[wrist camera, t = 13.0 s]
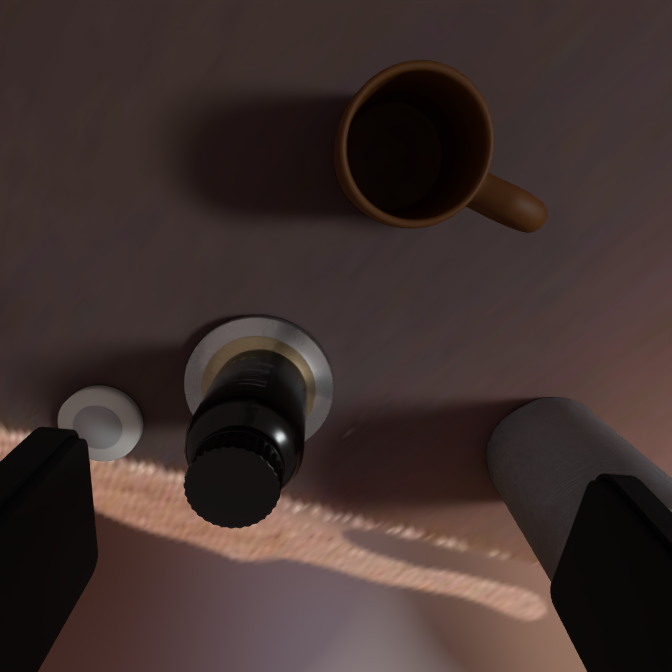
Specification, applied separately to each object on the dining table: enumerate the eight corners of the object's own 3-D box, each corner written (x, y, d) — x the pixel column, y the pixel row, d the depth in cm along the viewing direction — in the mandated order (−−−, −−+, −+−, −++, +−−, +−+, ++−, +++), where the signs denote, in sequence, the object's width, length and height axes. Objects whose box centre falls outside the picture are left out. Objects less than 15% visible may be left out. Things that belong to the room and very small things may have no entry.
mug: (526, 161, 31) (608, 153, 22) (467, 264, 33) (519, 295, 24) (365, 70, 29) (383, 20, 20) (313, 186, 31) (308, 187, 22)
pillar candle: (579, 507, 39) (724, 688, 25) (469, 490, 39) (554, 667, 24) (620, 405, 37) (811, 543, 22) (503, 385, 36) (622, 514, 22)
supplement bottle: (318, 418, 35) (317, 531, 24) (232, 439, 35) (189, 561, 24) (293, 334, 33) (278, 414, 22) (201, 358, 33) (138, 449, 22)
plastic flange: (60, 382, 35) (52, 389, 34) (141, 387, 35) (135, 395, 34) (68, 451, 37) (60, 460, 36) (145, 456, 37) (139, 465, 36)
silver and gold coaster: (186, 309, 33) (181, 313, 32) (339, 320, 34) (339, 325, 33) (189, 442, 37) (184, 450, 36) (327, 451, 37) (327, 459, 36)
